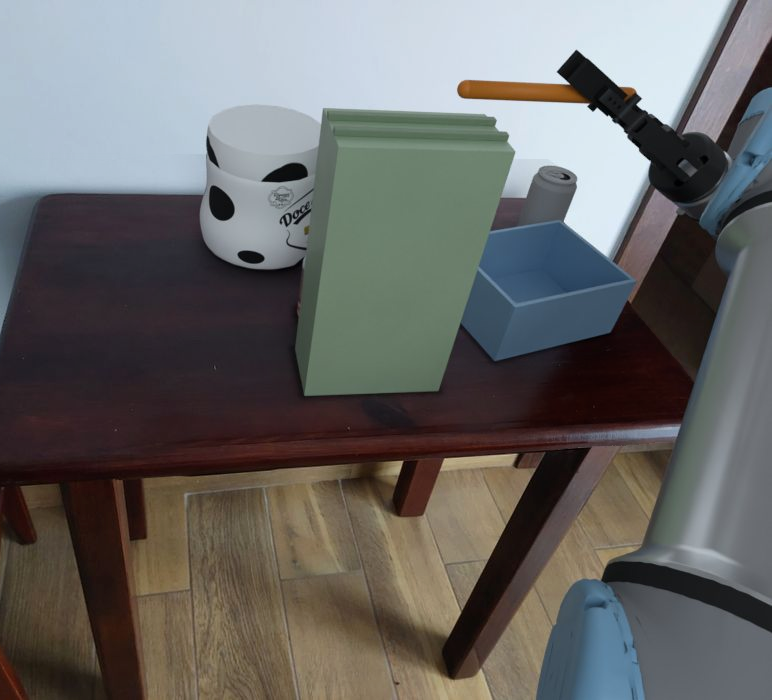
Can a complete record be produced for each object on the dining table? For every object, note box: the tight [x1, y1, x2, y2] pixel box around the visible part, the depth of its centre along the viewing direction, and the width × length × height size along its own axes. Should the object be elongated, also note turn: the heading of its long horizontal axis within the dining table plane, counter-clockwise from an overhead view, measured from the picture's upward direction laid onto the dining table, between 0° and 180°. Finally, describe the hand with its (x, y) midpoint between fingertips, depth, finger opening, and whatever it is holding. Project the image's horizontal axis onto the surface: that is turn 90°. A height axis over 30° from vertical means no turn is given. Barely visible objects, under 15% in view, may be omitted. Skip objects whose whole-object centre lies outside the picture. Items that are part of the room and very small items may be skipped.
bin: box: [460, 220, 638, 362], centre depth 90 cm, size 15×19×9 cm
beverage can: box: [515, 165, 578, 227], centre depth 103 cm, size 6×6×12 cm
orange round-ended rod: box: [456, 79, 638, 105], centre depth 70 cm, size 20×2×2 cm, turn 98°
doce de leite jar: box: [199, 104, 321, 272], centre depth 92 cm, size 17×17×18 cm
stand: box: [294, 107, 516, 397], centre depth 71 cm, size 16×8×31 cm, turn 98°
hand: (573, 66), depth 69 cm, fingers closed on orange round-ended rod, 2 cm apart
